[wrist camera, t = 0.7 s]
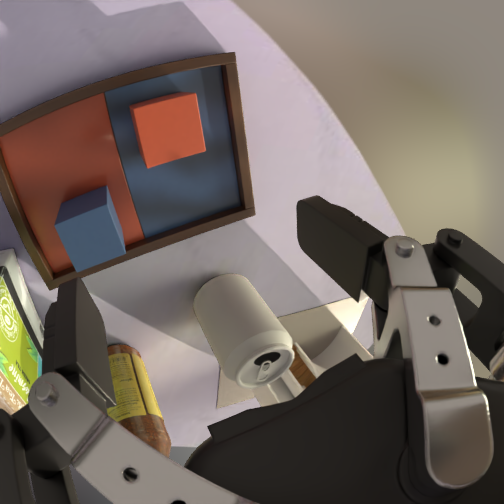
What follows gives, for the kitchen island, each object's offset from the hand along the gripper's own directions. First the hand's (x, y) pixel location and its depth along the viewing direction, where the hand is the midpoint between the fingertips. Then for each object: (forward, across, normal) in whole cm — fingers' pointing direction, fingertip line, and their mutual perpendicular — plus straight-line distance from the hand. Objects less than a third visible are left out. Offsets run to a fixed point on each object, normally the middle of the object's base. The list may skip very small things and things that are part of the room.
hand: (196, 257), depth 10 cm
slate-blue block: (+17, +6, +4) cm, 19 cm away
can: (+18, -4, +19) cm, 27 cm away
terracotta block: (+17, -2, -2) cm, 17 cm away
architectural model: (+18, -14, +39) cm, 45 cm away
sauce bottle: (+18, +11, +23) cm, 31 cm away
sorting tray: (+18, +2, +1) cm, 18 cm away
